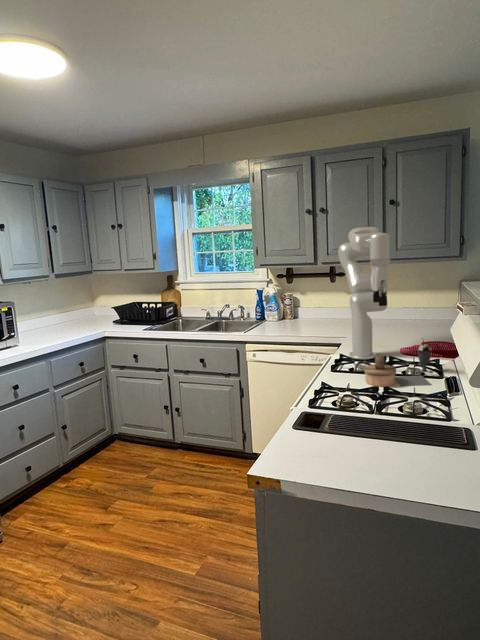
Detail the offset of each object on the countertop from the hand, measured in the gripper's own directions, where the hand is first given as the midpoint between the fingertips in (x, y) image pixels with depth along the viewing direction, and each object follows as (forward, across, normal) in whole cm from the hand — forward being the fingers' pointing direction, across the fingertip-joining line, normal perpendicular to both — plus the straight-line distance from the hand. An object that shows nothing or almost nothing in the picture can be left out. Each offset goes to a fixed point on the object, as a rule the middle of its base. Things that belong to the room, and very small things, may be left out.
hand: (379, 303), depth 188 cm
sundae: (+31, +2, +18) cm, 35 cm away
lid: (+25, +14, -4) cm, 29 cm away
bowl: (+30, +14, -4) cm, 34 cm away
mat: (+30, +14, +9) cm, 35 cm away
